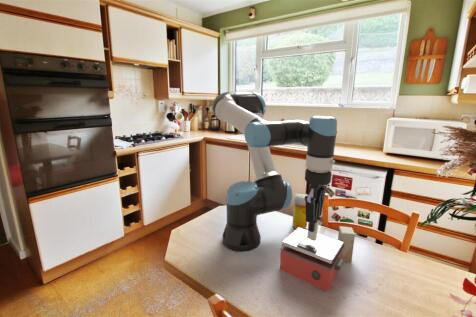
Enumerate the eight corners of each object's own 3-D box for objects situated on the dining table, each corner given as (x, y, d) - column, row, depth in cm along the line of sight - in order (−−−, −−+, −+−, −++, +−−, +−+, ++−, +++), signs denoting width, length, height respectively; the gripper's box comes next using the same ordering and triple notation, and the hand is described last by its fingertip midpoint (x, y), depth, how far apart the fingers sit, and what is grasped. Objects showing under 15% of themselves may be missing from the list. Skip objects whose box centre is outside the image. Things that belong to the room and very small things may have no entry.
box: (351, 263, 86) (355, 234, 83) (338, 261, 86) (342, 233, 84) (348, 253, 91) (351, 226, 88) (335, 252, 91) (339, 225, 89)
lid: (282, 244, 80) (282, 239, 80) (299, 229, 92) (299, 225, 91) (331, 263, 71) (332, 258, 71) (343, 244, 83) (344, 239, 82)
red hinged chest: (274, 269, 83) (275, 248, 81) (293, 247, 94) (294, 228, 92) (332, 295, 72) (335, 272, 70) (345, 267, 83) (348, 247, 81)
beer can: (308, 230, 106) (310, 198, 102) (293, 230, 106) (296, 198, 102) (304, 223, 112) (307, 192, 108) (291, 223, 112) (293, 192, 108)
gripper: (324, 177, 66) (316, 253, 73) (337, 166, 76) (329, 233, 83) (297, 172, 71) (292, 244, 77) (314, 162, 81) (308, 226, 87)
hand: (311, 238), depth 80 cm, fingers closed
